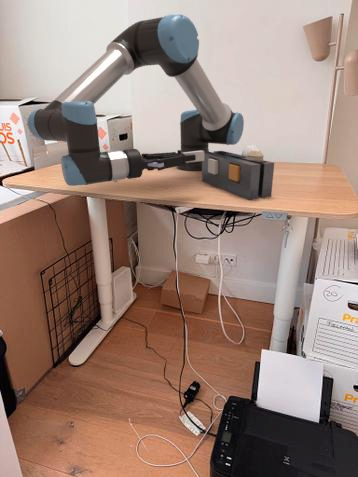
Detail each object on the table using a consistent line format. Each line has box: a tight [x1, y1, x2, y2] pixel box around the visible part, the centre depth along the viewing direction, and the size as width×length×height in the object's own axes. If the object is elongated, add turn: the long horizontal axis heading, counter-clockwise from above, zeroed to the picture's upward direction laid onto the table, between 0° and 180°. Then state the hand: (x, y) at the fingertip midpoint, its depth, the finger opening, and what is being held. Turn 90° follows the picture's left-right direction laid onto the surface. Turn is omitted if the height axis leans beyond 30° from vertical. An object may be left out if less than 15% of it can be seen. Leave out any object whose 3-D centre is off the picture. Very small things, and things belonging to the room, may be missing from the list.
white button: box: [208, 158, 219, 174], centre depth 112 cm, size 4×4×4 cm
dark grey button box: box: [201, 150, 275, 201], centre depth 108 cm, size 8×28×10 cm, turn 26°
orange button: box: [229, 164, 240, 182], centre depth 102 cm, size 4×4×4 cm
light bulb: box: [241, 143, 260, 157], centre depth 130 cm, size 7×7×11 cm
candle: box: [248, 150, 264, 160], centre depth 121 cm, size 6×6×10 cm
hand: (202, 155), depth 97 cm, fingers closed
